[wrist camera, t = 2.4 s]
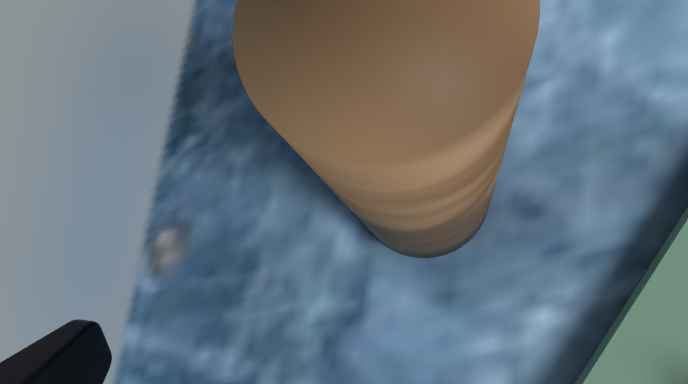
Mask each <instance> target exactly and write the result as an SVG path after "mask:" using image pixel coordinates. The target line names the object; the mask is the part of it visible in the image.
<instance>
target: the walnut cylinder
mask: <svg viewBox="0 0 688 384" xmlns="http://www.w3.org/2000/svg"><path fill="white" fill-rule="evenodd" d="M539 16H540V2H539V0H238V1H237V6H236V10H235V15H234V24H233V51H234V56H235V61H236V67H237V70H238V73H239V76H240V79H241V82H242V84H243V86H244V88H245V90H246V92H247V94H248V96H249V98H250V100H251V101H252V103H253V104H254V105H255V107H256V108H257V109H258V111H259V112H260V114H261V115H262V116H263V117H264V118H265V119H266V120H267V121H268V122H269V123H270V124H271V125H272V127H273V128H274V129H275V130H276V131H277V132H278V133H279V134H280V135H281V136H282V137H283V138H284V139H285V140H286V141H287V143H288V144H289V145H290V146H291V147H292V148H293V149H294V150H295V151H296V152H297V153H298V154H299V155H300V156H301V157H302V159H303V160H304V161H305V162H306V163H307V164H308V165H309V166H310V167H311V168H312V169H313V170H314V171H315V172H316V173H317V175H318V176H319V177H320V178H321V179H322V180H323V181H324V182H325V183H326V184H327V185H328V186H329V187H330V188H331V189H332V191H333V192H334V193H335V194H336V195H337V196H338V197H339V198H340V199H341V200H342V201H343V202H344V203H345V204H346V205H347V207H348V208H349V209H350V210H351V211H352V212H353V213H354V214H355V215H356V216H357V217H358V218H359V219H360V220H361V221H362V223H363V224H364V225H365V226H366V227H367V228H368V229H369V230H370V231H371V232H372V233H373V234H374V235H375V236H376V237H377V238H378V239H379V240H380V241H381V242H382V243H383V244H384V245H386V246H387V247H389V248H390V249H392V250H394V251H396V252H398V253H400V254H403V255H407V256H410V257H417V258H431V257H438V256H442V255H445V254H448V253H450V252H453V251H455V250H457V249H458V248H460V247H462V246H463V245H464V244H466V243H467V242H468V241H469V240H470V239H471V238H472V237H473V236H474V235H475V234H476V233H477V231H478V230H479V229H480V227H481V225H482V224H483V222H484V219H485V217H486V215H487V211H488V208H489V204H490V201H491V197H492V194H493V190H494V187H495V183H496V180H497V176H498V172H499V169H500V165H501V162H502V158H503V155H504V151H505V148H506V144H507V141H508V137H509V134H510V130H511V126H512V123H513V119H514V116H515V112H516V109H517V105H518V102H519V98H520V95H521V91H522V88H523V84H524V80H525V77H526V73H527V70H528V66H529V63H530V59H531V56H532V52H533V48H534V44H535V41H536V37H537V33H538V26H539Z"/></svg>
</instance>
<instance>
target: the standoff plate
mask: <svg viewBox="0 0 688 384" xmlns="http://www.w3.org/2000/svg"><path fill="white" fill-rule="evenodd" d="M574 384H688V206H687V208H686V210H685V211H684V213H683V214H682V216H681V217H680V219H679V220H678V222H677V224H676V225H675V227H674V228H673V230H672V231H671V233H670V235H669V236H668V238H667V239H666V241H665V242H664V244H663V246H662V247H661V249H660V250H659V252H658V253H657V255H656V256H655V258H654V260H653V261H652V263H651V264H650V266H649V267H648V269H647V271H646V272H645V274H644V275H643V277H642V278H641V280H640V281H639V283H638V285H637V286H636V288H635V289H634V291H633V292H632V294H631V296H630V297H629V299H628V300H627V302H626V303H625V305H624V307H623V308H622V310H621V311H620V313H619V314H618V316H617V317H616V319H615V321H614V322H613V324H612V325H611V327H610V328H609V330H608V332H607V333H606V335H605V336H604V338H603V339H602V341H601V343H600V344H599V346H598V347H597V349H596V350H595V352H594V353H593V355H592V357H591V358H590V360H589V361H588V363H587V364H586V366H585V368H584V369H583V371H582V372H581V374H580V375H579V377H578V378H577V380H576V382H575V383H574Z"/></svg>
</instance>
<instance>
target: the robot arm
mask: <svg viewBox="0 0 688 384" xmlns="http://www.w3.org/2000/svg"><path fill="white" fill-rule="evenodd" d="M111 360H112V355H111V351H110V348H109V346H108V344H107V341H106V339H105V336H104V334H103V331H102V329H101V327H100V325H99V324H98V323H96V322H93V321H87V320H73V321H71V322H69V323H67V324H65V325H63V326H62V327H60V328H58V329H57V330H55V331H53V332H51V333H50V334H48V335H46V336H45V337H43V338H42V339H40V340H38V341H36V342H35V343H33V344H31V345H29V346H28V347H26V348H24V349H23V350H21V351H19V352H18V353H16V354H14V355H12V356H11V357H9V358H7V359H6V360H4V361H2V362H1V363H0V384H103V382H104V380H105V377H106V375H107V373H108V371H109V368H110V364H111Z"/></svg>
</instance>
